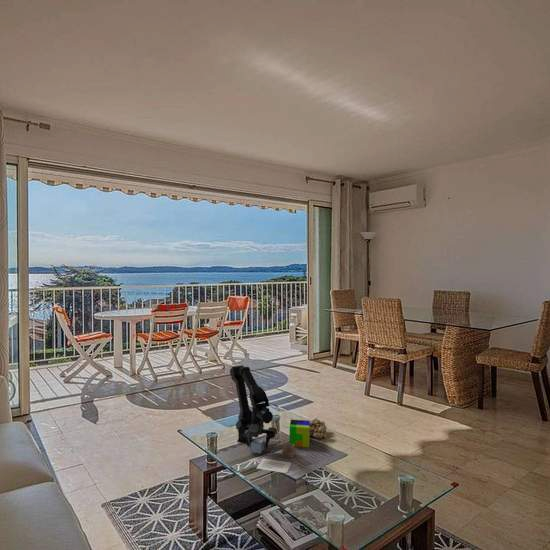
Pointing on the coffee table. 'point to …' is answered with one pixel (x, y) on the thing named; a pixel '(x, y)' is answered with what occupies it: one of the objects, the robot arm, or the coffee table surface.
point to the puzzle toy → (299, 433)
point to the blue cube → (257, 446)
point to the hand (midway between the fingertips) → (257, 447)
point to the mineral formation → (317, 428)
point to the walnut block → (288, 450)
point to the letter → (274, 465)
